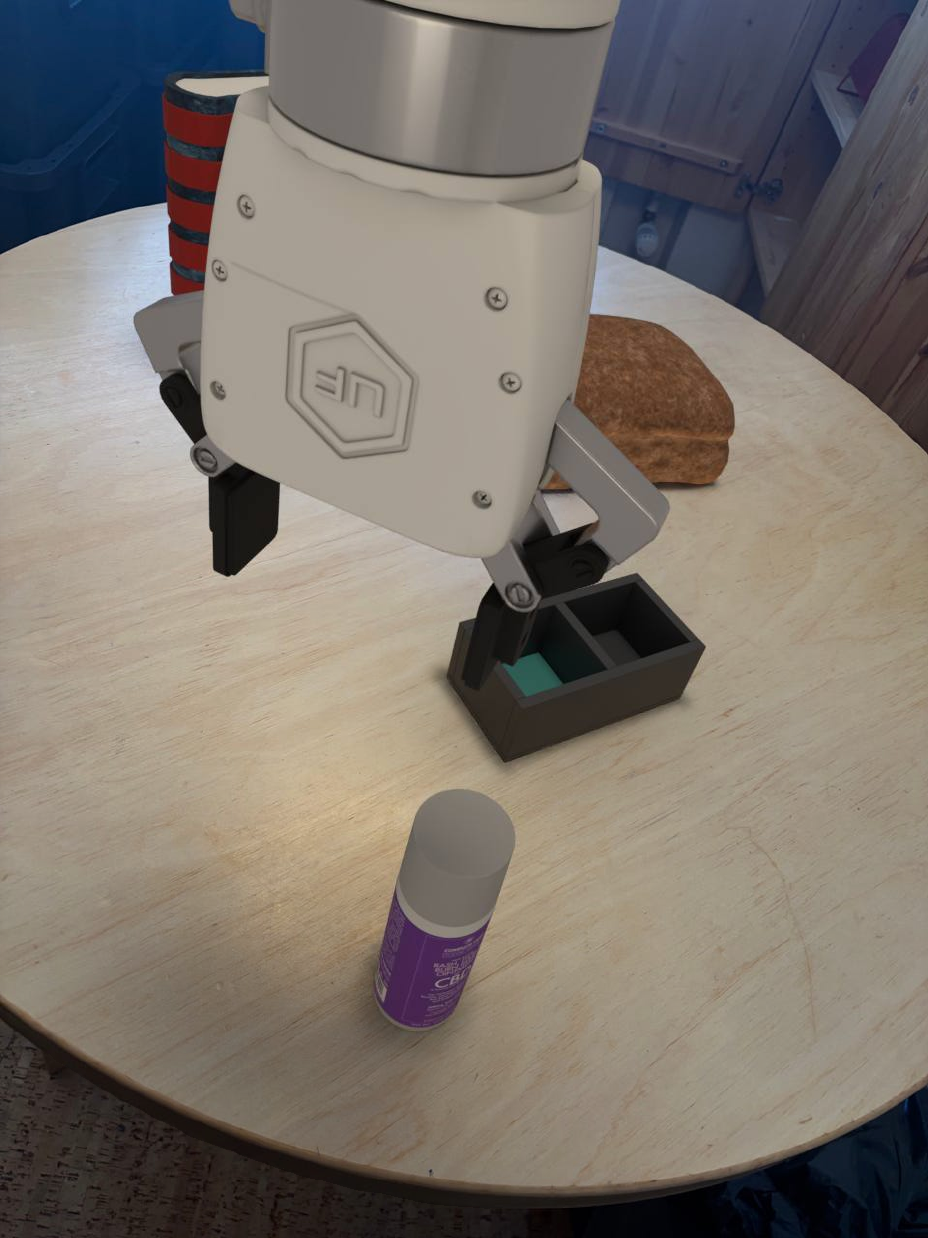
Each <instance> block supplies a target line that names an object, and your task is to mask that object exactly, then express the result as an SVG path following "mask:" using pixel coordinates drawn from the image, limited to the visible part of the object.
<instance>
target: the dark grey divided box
mask: <svg viewBox="0 0 928 1238" xmlns="http://www.w3.org/2000/svg"><path fill="white" fill-rule="evenodd" d="M475 619H476V617H472V618H469V619H466V620H462V621H459V622H458V626H457V630H456V634H455V639H454V643H453V648H452V651H451V656H450V660H449V664H448V668H447V672H446V679H447V680H448V681H449V682H450V685H451V687H453V689H454V691H455V692H456V693H457V695H458V696H459V698H460V699H461V701H462V702H463V704H464V705H465V706H466V708H467V709H468V711H469V712H470V713H471V715H472V716H473V718H474V719H475V721H476V722H477V724H478V725H479V727H480V729H481V730H482V731H483V733H484V734H485V736H486V738H487V739H488V740H489V741H490V743H491V744H492V746H493V747H494V749H495V750H496V752H497V753H498V755H499V756H500V758H501V759H502V760H503V762H504V763H507V762H509V761H512V760H516V759H517V758H521V757H523V756H526V755H529V754H532V753H534V752H537V751H539V750H543V749H545V748H548V747H550V746H551V747H552V746H553V745H557V744H559V743H561V742H564V741H567V740H569V739H573V738H575V737H577V736H580V735H583V734H586V733H589V732H591V731H594V730H597V729H600V728H603V727H605V726H608V725H612V724H614V723H616V722H619V721H622V720H625V719H627V718H630V717H632V716H635V715H638V714H640V713H641V714H642V713H643V712H646V711H649V710H652V709H654V708H657V707H660V706H662V705H666V704H668V703H671V702H674V701H676V700H679V699H681V698H682V697H683V693H684V691H686V690H685V689H686V688H687V686H688V684H689V682H690V680H691V678H692V676H693V674H694V673H695V670H696V669H697V666H698V664H699V662H700V660H701V658H702V656H703V654H704V652H705V650H706V648H707V646H706V645H705V643H704V642H702V640H701V639H699V637H698V636H697V635H696V634H695V633H694V632H693V631H692V630H691V629H690V628H689V626H688V625H687V624H686V623H685V622H684V621H683V620H682V619H681V618H680V617H679V616H678V614H676V613H675V611H674V610H673V609H672V608H671V607H670V605H669V604H667V603H666V602H665V601H664V599H663V598H662V597H661V596H660V595H659V594H658V593H657V592H656V591H655V590H654V589H653V588H652V587H651V585H650V584H649V583H648V582H646V580H645V579H644V578H643V577H642V576H641V575H640V574H639V573H638V572H635V573H631V574H628V575H623V576H620V577H617V578H613V579H609V580H606V581H602V582H598V583H596V584H594V585H590V586H587V587H583V588H580V589H577V590H573V591H570V592H566V593H563V594H559V595H556V596H552V597H549V598H546V599H542V600H541V601H540V604H539V607H538V610H537V614H536V617H535V620H534V623H533V626H532V630H531V633H530V636H529V638H528V641H527V643H526V645H525V648H524V650H523V652H522V653H521V655H520V657H519V659H518V660H517V662H516V664H515V665H514V666H513V667H512V666H510V665H507V664H505V663H503V662H501V661H498V662H497V664H496V666H495V667H494V669H493V670H492V672H491V674H490V675H489V677H488V678H487V680H486V682H485V683H484V685H483V687H482V688H481V690H480V691H479V692H478V691H475V690H473V689H471V688H469V687H467V686H465V685H464V684H465V681H463V680H461V675H462V671H463V667H464V663H465V659H466V655H467V651H468V647H469V643H470V639H471V635H472V631H473V627H474V623H475Z"/></svg>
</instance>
